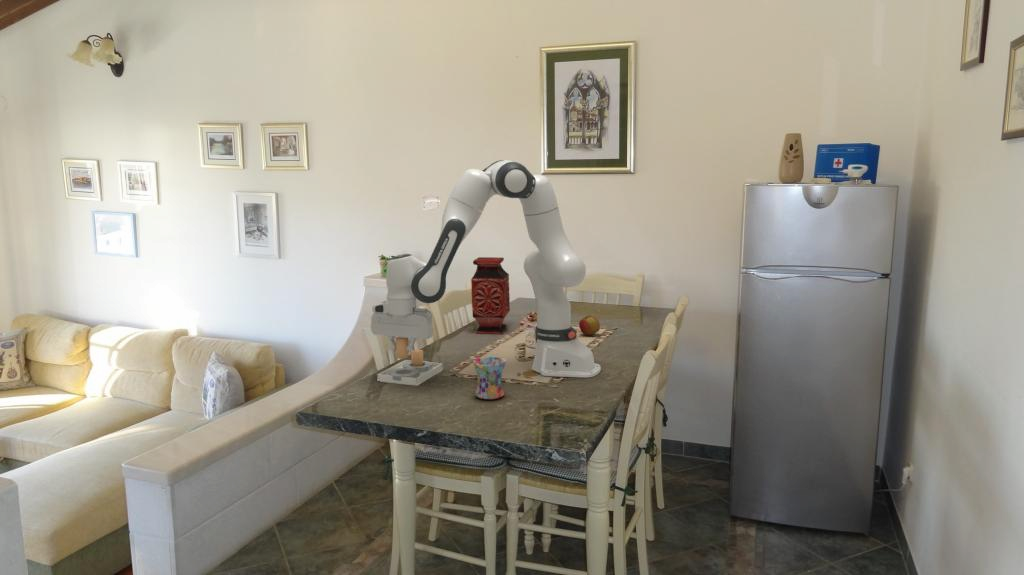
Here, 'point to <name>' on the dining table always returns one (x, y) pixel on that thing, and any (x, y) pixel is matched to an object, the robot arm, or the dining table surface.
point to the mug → (489, 377)
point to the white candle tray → (411, 370)
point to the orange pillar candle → (401, 347)
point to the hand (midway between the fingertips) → (402, 350)
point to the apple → (589, 325)
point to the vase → (490, 295)
